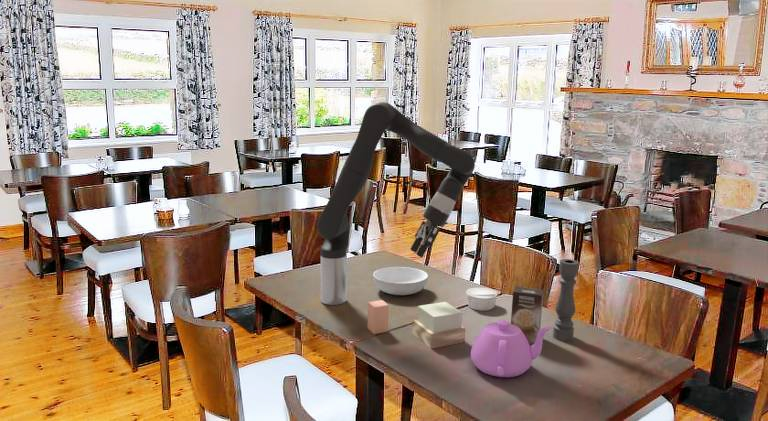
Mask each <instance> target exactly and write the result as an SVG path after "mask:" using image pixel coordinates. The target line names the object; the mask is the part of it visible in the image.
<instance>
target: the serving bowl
mask: <svg viewBox="0 0 768 421" xmlns="http://www.w3.org/2000/svg"><path fill="white" fill-rule="evenodd" d="M372 274H373V275H372V276H373V282H374V284H375V286H376V287H377V289H379V290H380V291H382V292H384V293H387V294H389V295H394V296H407V295H413V294H416V293H419V292H420V291H422V290H423V289H424V288H425V286H426V285H427V283H428V279H429V274H428V273H427V272H426V271H424V270H421V269H419V268H415V267H414V268H413V267H408V266H407V267H406V266H391V267H383V268H379V269H377V270H375V271H374V272H373V273H372Z"/></svg>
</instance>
